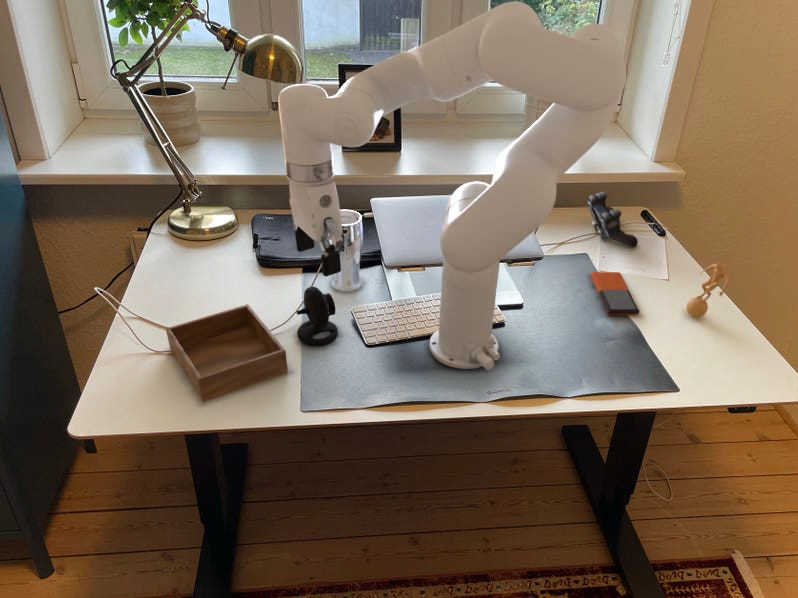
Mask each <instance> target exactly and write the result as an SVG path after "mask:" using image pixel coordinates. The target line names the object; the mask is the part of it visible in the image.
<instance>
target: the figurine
mask: <svg viewBox="0 0 798 598" xmlns="http://www.w3.org/2000/svg"><path fill="white" fill-rule="evenodd" d="M712 268H714V270H713V276H710V277H709V278H708V279H707V280H706V281H705V282H703V283H702V284H701V288H702V290H703V293H701V294H700V295H697V296H695V297H692V298H690V299H689V301H687V303H686V307H685V308H686V312H687V314H688V315H689V316H690V317H692V318H702V317H703V316H705V315H706V314H707V312H708V309H709V306H708V303H707V300H708V299H710V297H711V295H712V291H714V290H716V288H718V286H719V281H720V280H722V279H723V278H724V279H725V283H724V285H723V286H722V289H721V291H718V295H717V296H718V297H719V298H721V297H722V296H723V294H724V292H725V290H726V289H727V287H728V285H729V284H730V279H729V271H730V267H729V266H728V265H727V264H722V263H721V262H717V263H713V264H711V265H710V266H708V267H706V268H704V269H703V270H701V272H700V273H699V275H702V274H703V273H704V272H706V271H709V270H711V269H712ZM705 295H707V296H705ZM704 296H705V297H704Z"/></svg>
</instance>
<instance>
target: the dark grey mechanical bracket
mask: <svg viewBox="0 0 798 598" xmlns="http://www.w3.org/2000/svg"><path fill="white" fill-rule="evenodd" d="M607 198H608V193H606V192H605V191H601V192H596V194H595V195H594V194H591V195H589V196H588V201H587V204H586V205H587V209H588V210H589V212H590V214H591V216H592V218H593V220H594V221H592V222H591V225H592V228H593V229H594V230H595V231H597V232H598V235H599V237H600V239H602V240H604V237H605V238H606V239H607V240H612V241H614V242H617V243H619V244H622V245H625V246H627V247H630V248H634V249H635V248H637V246H638V244H639V241H638V238H637V237H636V236H635V235H634V234H630V233H625V232H624V231H623V230H622V229H621V222H620V218H621V216H622V214H623V213H622V211H621V210H620V209H619V208H618V209H615V208H613V207H612V206H609V205H607V204H606V200H607Z"/></svg>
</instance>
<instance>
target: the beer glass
mask: <svg viewBox="0 0 798 598" xmlns="http://www.w3.org/2000/svg"><path fill="white" fill-rule="evenodd" d="M340 214H341V222H342V235H341V236H342V238H343V242H342V249H341V253H340V263H341V271H340V272H339V273H336V274H333V275H332V278H331V286H332V288H333V289H334V290H337V291H339V292H347V293H349V292H354V291H356V290H358V289H360V288H361V287H362V284H363V281H362V276H361V271H360V270H361V269H360V265H361V259H362V255H363V254H362V253H363V247H364V228H363V221H362V220H363V217H362V215H361V214H360V212H357V211H354V210H351V209H340ZM328 235H329V233H328V232H327V233H326V236H328ZM331 242H332V241H331V240H327V245H328V246H327V248H328V247H329V246H330V245H332V243H331Z"/></svg>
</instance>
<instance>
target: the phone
mask: <svg viewBox="0 0 798 598" xmlns="http://www.w3.org/2000/svg"><path fill="white" fill-rule="evenodd" d="M590 278H591V280H592V283H593V285H594V287H595V289H596V291H597V294H598V295H599V298H600V300H601V303H602V305H603V307H604V309H605V311H606V315H608V316H638V315H639V314H640V310H639V308H638V306H637V303H636V302H635V300H634V298H633V295H632V294H631V291H630V290H629V287H628V286H627V284H626V282H625V280H624V278H623V276H622V274H621V272H619V271H593V272H591V273H590Z"/></svg>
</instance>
